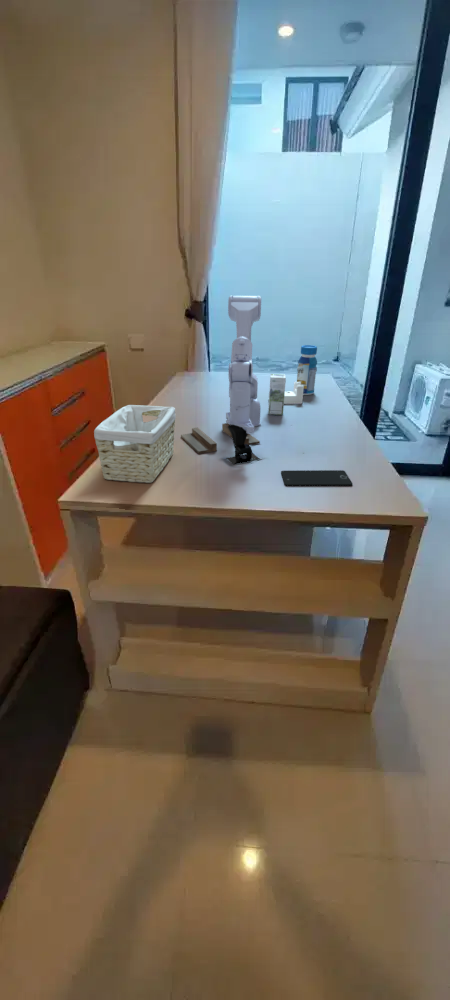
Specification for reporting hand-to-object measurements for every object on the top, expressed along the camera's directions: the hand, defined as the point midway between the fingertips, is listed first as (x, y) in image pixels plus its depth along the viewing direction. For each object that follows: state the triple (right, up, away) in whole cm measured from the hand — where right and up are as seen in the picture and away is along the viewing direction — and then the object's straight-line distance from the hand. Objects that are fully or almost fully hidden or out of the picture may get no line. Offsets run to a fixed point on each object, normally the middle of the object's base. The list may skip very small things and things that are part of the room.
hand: (238, 448), depth 132 cm
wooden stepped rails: (-6, +4, +12) cm, 14 cm away
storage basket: (-28, -6, -6) cm, 29 cm away
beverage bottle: (+32, +32, +64) cm, 79 cm away
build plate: (+1, -4, -1) cm, 4 cm away
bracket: (+21, +26, +53) cm, 62 cm away
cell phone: (+21, -10, -12) cm, 26 cm away
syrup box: (+16, +18, +38) cm, 45 cm away
